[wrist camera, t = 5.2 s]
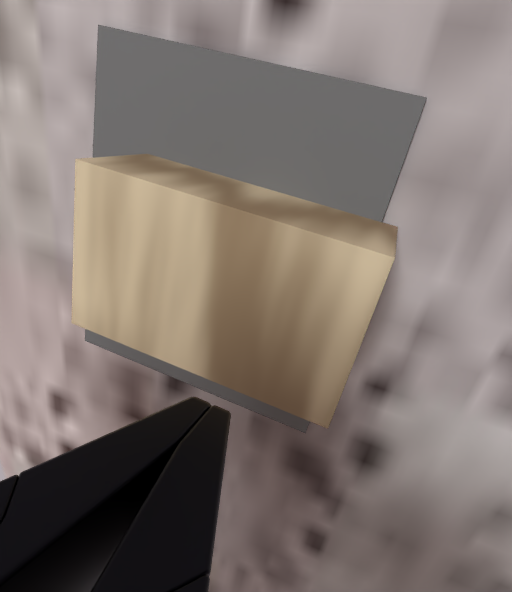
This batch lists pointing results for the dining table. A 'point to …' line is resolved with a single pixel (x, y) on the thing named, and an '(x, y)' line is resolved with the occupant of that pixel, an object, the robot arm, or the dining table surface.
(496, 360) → the dining table surface
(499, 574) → the dining table surface
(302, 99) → the placemat
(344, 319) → the oak block
